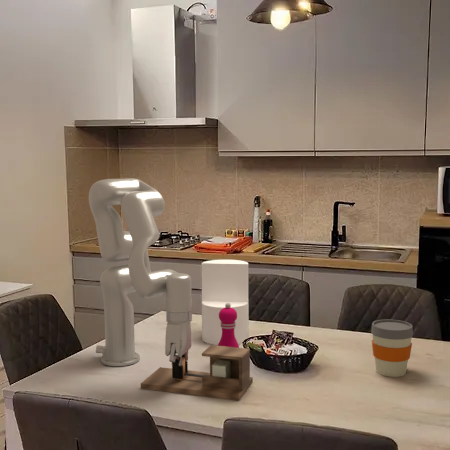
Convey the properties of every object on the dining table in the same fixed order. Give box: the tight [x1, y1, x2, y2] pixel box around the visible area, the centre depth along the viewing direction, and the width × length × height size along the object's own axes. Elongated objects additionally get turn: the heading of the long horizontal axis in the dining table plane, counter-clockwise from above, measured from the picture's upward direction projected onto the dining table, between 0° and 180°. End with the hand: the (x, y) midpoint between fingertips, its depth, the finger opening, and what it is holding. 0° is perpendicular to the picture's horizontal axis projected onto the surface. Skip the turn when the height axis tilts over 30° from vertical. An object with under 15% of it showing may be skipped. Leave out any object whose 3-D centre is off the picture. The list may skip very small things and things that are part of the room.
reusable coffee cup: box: [370, 318, 414, 378], centre depth 187 cm, size 13×13×15 cm
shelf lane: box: [140, 344, 254, 401], centre depth 177 cm, size 30×14×11 cm, turn 72°
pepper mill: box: [217, 303, 240, 348], centre depth 196 cm, size 7×7×20 cm
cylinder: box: [201, 259, 250, 346], centre depth 222 cm, size 17×17×28 cm
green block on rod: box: [175, 357, 231, 380], centre depth 177 cm, size 16×5×6 cm, turn 72°
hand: (180, 375), depth 179 cm, fingers closed on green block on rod, 3 cm apart
